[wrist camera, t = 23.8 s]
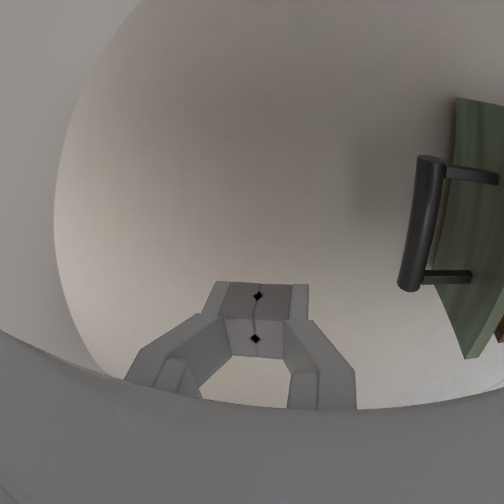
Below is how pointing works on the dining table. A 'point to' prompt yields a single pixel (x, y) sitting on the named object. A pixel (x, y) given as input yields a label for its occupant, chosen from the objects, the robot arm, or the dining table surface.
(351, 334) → the dining table surface
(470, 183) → the drawer
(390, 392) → the dining table surface
